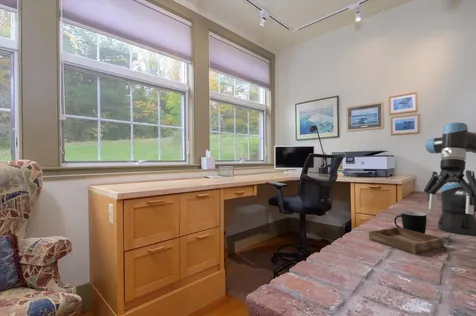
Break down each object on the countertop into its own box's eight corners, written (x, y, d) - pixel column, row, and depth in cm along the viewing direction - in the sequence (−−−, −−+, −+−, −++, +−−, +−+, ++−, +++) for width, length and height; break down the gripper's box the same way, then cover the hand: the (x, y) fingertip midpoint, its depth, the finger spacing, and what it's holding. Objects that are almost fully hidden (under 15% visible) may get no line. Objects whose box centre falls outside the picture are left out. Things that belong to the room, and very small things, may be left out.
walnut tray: (396, 234, 106) (396, 226, 106) (443, 247, 89) (443, 238, 89) (369, 239, 98) (368, 231, 99) (415, 254, 82) (415, 244, 82)
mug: (428, 235, 104) (427, 213, 104) (425, 240, 97) (424, 216, 98) (396, 230, 112) (396, 209, 113) (392, 234, 106) (391, 212, 106)
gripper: (416, 160, 107) (412, 206, 104) (483, 154, 82) (480, 214, 79) (429, 163, 108) (426, 209, 105) (499, 159, 84) (497, 218, 81)
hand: (449, 211), depth 92 cm, fingers open, 13 cm apart
